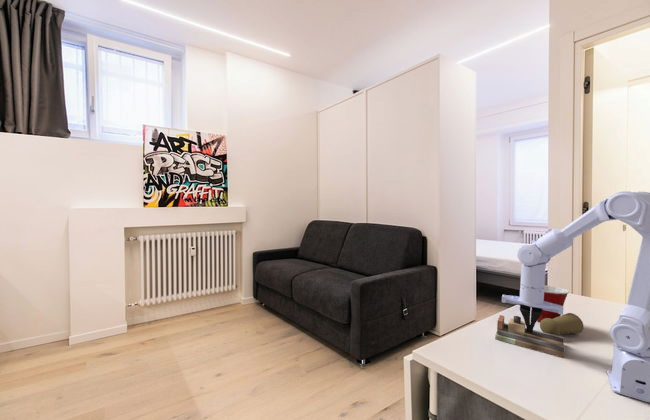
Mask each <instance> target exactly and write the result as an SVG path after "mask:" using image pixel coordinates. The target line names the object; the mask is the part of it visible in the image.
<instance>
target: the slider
mask: <svg viewBox="0 0 650 420" xmlns="http://www.w3.org/2000/svg"><path fill="white" fill-rule="evenodd" d="M521 317H522V316H518V315H514V316H513V318H510V317H509V320H508V323H507V324H508V332H510V333H514V334H518V335H522V336H525V328H526V324H525V321H524V320H522V318H521Z"/></svg>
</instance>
